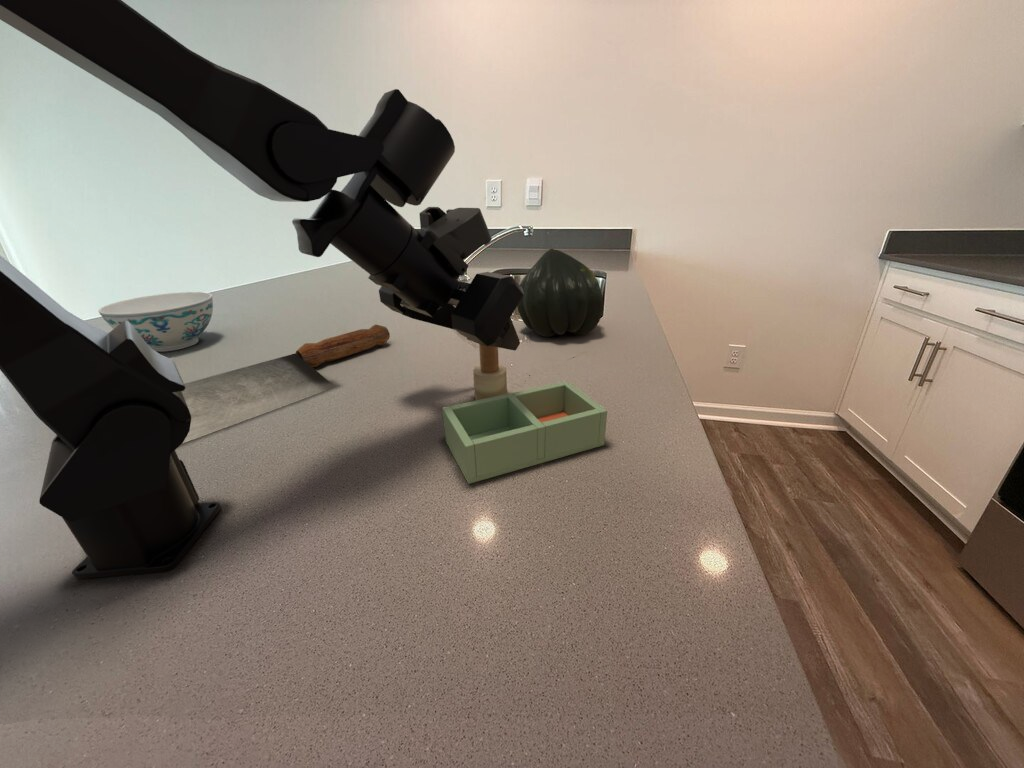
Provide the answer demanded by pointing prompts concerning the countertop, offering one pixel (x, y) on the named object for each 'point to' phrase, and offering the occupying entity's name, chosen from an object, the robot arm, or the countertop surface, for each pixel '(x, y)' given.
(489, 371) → the dish brush
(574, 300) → the squash
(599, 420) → the green divided tray
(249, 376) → the meat cleaver
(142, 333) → the chinaware
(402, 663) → the countertop surface
